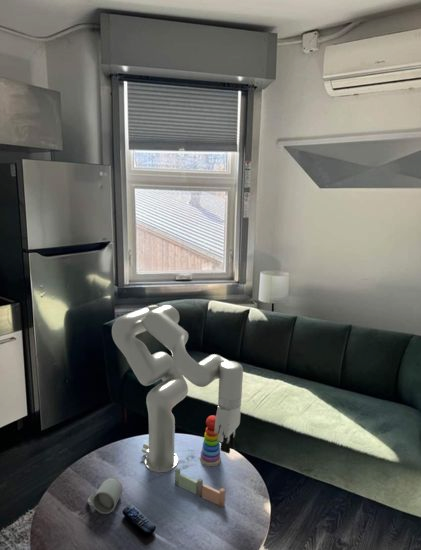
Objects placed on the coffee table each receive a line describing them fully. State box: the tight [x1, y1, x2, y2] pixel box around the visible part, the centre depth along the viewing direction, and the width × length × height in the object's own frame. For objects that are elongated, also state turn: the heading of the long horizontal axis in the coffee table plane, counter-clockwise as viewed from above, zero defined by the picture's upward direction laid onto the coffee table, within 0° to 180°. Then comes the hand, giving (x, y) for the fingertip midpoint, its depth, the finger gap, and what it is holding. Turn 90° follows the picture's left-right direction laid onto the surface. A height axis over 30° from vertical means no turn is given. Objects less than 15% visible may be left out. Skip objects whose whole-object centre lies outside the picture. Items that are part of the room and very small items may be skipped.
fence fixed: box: [174, 467, 198, 495], centre depth 138 cm, size 9×2×6 cm, turn 60°
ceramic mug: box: [87, 477, 123, 514], centre depth 131 cm, size 11×8×8 cm
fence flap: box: [196, 478, 226, 508], centre depth 133 cm, size 10×2×6 cm, turn 60°
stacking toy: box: [199, 414, 222, 467], centre depth 151 cm, size 8×8×19 cm
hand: (227, 449), depth 134 cm, fingers closed
